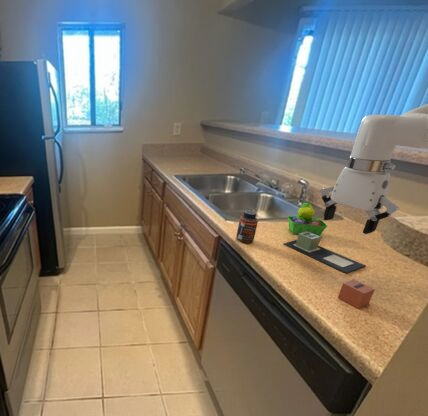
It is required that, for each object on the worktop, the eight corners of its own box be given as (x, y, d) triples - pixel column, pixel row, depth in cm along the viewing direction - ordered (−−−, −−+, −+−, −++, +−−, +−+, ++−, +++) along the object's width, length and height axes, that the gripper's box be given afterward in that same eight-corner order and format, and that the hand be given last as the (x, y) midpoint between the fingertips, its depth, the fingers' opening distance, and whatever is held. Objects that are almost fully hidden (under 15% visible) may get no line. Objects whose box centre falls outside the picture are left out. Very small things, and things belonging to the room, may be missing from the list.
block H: (317, 248, 96) (321, 236, 94) (308, 250, 94) (312, 238, 93) (303, 242, 100) (307, 231, 98) (295, 245, 98) (298, 233, 97)
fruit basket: (289, 234, 107) (297, 207, 103) (283, 225, 115) (290, 200, 111) (324, 238, 104) (333, 211, 100) (315, 229, 111) (323, 203, 107)
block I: (368, 303, 70) (375, 288, 69) (358, 308, 69) (364, 293, 67) (348, 293, 74) (353, 278, 72) (337, 297, 73) (342, 282, 71)
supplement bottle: (240, 243, 100) (246, 215, 96) (233, 236, 106) (238, 209, 102) (256, 243, 101) (262, 215, 96) (248, 236, 106) (253, 209, 102)
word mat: (365, 266, 86) (366, 265, 86) (345, 273, 82) (346, 272, 82) (301, 239, 103) (301, 238, 103) (283, 244, 100) (283, 243, 100)
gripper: (421, 171, 64) (394, 236, 70) (339, 158, 79) (322, 213, 85) (402, 174, 61) (376, 241, 68) (321, 160, 77) (306, 216, 83)
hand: (346, 225), depth 76 cm, fingers open, 9 cm apart
